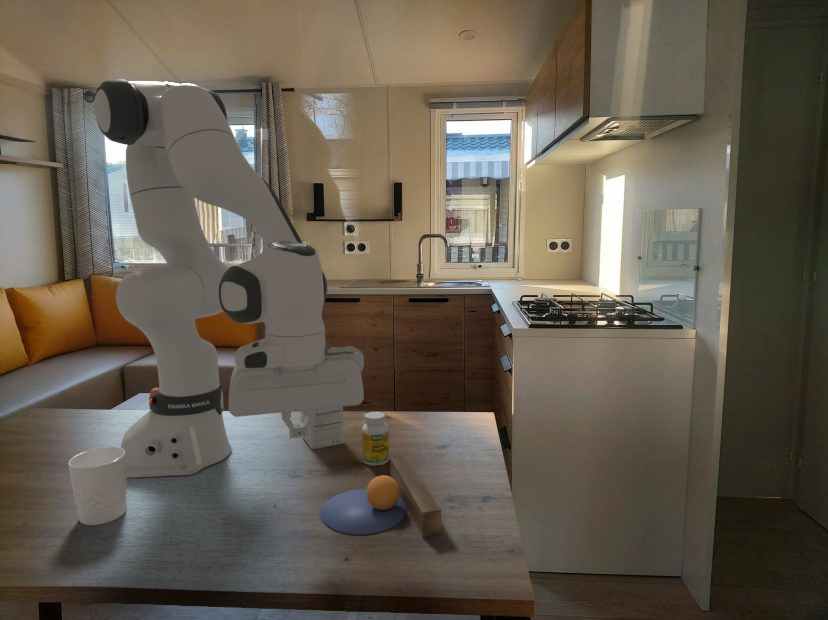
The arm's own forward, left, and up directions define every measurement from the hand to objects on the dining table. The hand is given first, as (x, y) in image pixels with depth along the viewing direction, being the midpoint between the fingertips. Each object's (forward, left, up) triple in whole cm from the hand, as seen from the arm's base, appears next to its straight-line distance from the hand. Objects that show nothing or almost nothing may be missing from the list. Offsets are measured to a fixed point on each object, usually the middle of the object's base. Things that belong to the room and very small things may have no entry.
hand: (299, 436), depth 83 cm
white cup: (-31, +11, -14) cm, 36 cm away
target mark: (+10, 0, -14) cm, 17 cm away
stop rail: (+18, 0, -14) cm, 23 cm away
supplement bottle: (+16, +18, -14) cm, 28 cm away
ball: (+13, 0, -11) cm, 17 cm away
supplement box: (+7, +31, -14) cm, 35 cm away
